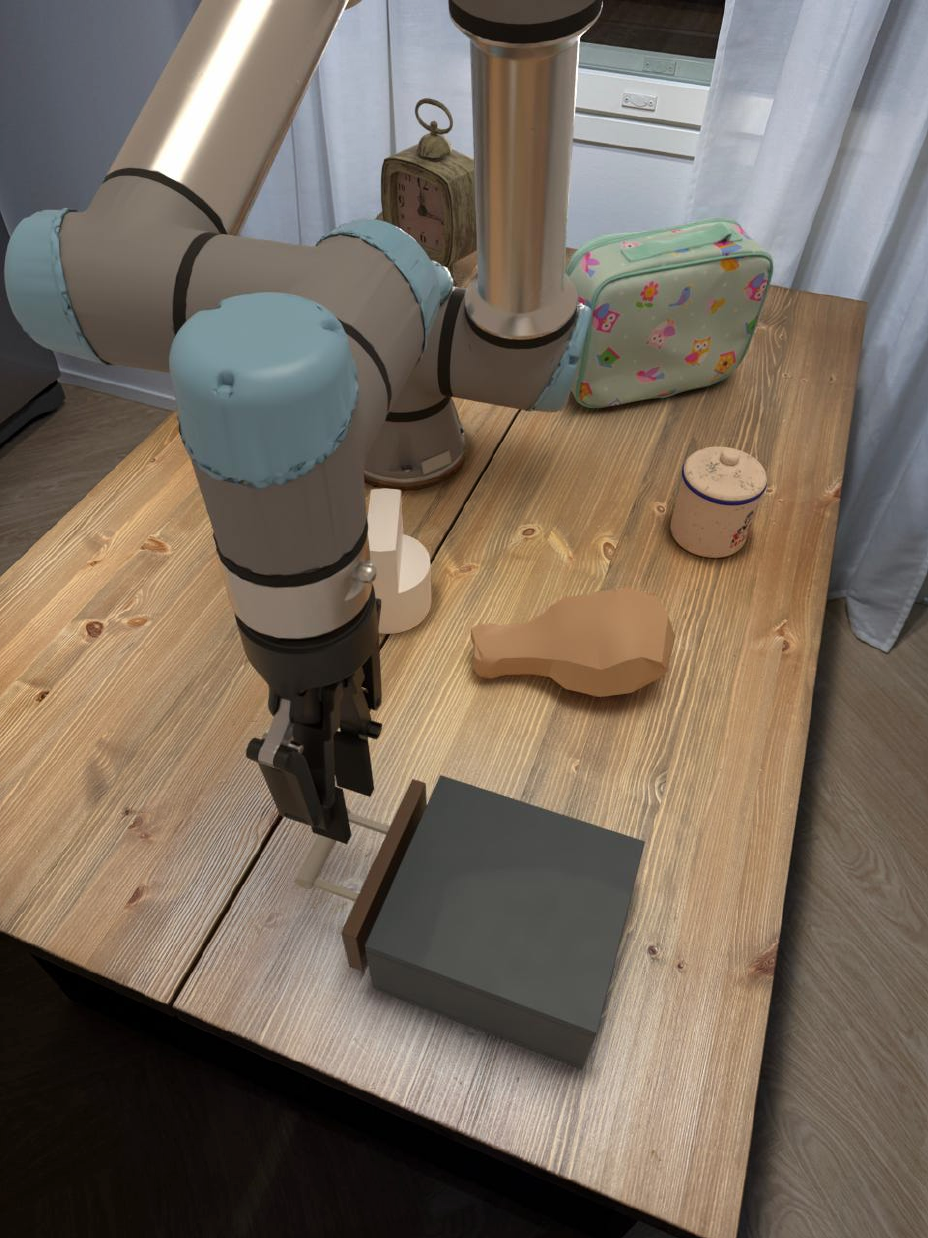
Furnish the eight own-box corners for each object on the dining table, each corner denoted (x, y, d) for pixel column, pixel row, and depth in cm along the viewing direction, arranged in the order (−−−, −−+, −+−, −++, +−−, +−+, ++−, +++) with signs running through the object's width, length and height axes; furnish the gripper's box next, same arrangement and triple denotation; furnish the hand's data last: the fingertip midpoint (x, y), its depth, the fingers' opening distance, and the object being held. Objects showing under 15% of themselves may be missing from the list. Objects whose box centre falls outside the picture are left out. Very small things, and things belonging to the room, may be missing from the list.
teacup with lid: (743, 568, 99) (771, 488, 90) (661, 550, 101) (681, 470, 92) (753, 500, 107) (780, 420, 98) (677, 484, 108) (697, 404, 100)
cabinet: (372, 989, 69) (364, 946, 62) (441, 826, 78) (440, 774, 71) (582, 1070, 65) (596, 1033, 59) (628, 890, 74) (645, 841, 68)
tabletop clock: (384, 266, 143) (374, 94, 124) (422, 246, 147) (418, 77, 129) (453, 297, 137) (453, 121, 118) (490, 274, 141) (496, 102, 123)
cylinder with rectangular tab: (429, 634, 92) (427, 552, 83) (343, 633, 92) (331, 550, 83) (433, 572, 98) (431, 489, 89) (351, 570, 98) (341, 487, 89)
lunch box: (712, 344, 129) (750, 193, 113) (751, 382, 123) (797, 229, 106) (544, 379, 123) (558, 226, 106) (576, 422, 116) (596, 266, 100)
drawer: (282, 941, 70) (268, 905, 65) (354, 799, 79) (347, 757, 73) (541, 1041, 66) (549, 1011, 60) (588, 878, 74) (598, 839, 69)
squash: (679, 710, 87) (688, 667, 79) (475, 721, 89) (464, 680, 81) (665, 615, 92) (672, 566, 85) (474, 628, 94) (464, 581, 87)
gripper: (296, 734, 41) (342, 931, 59) (426, 511, 52) (432, 736, 69) (156, 689, 43) (242, 894, 61) (309, 481, 53) (345, 709, 71)
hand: (344, 810), depth 65 cm, fingers open, 3 cm apart
